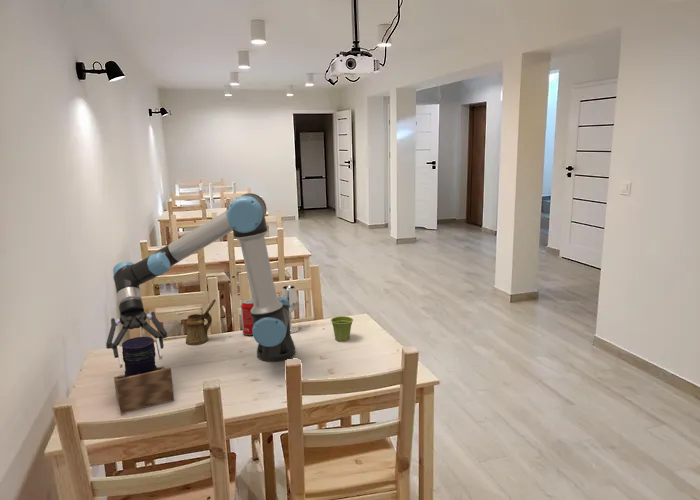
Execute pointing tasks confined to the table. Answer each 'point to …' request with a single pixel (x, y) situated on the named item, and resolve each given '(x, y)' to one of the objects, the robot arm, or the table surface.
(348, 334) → the plant pot
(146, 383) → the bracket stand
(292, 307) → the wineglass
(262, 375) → the table surface
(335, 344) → the table surface
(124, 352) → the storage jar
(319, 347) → the table surface
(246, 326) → the soda can
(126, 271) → the robot arm
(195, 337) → the wooden mug
